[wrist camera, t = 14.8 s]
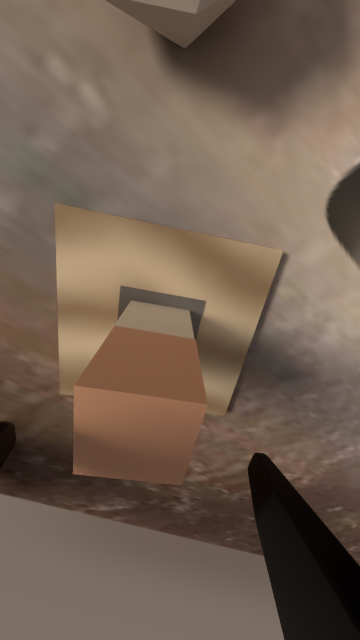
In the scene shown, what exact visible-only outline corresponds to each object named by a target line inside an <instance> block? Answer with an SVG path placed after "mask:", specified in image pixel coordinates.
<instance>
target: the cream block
mask: <svg viewBox="0 0 360 640" xmlns="http://www.w3.org/2000/svg"><path fill="white" fill-rule="evenodd" d="M114 326H120V327H126V328H132V329H138V330H144V331H150V332H156V333H161V334H167V335H173V336H179V337H185V338H191V339H194V333H193V328H192V322H191V316H190V311H189V310H185V309H179V308H173V307H167V306H161V305H155V304H149V303H143V302H138V301H132V300H131V302H130V303H129V305H128V306H127V307H126V309H125V310H124V312H123V313H122V315H121V316H120V318H119V319H118V321H117V322H116V323H115V325H114ZM114 326H113V327H114Z"/></svg>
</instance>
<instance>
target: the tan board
mask: <svg viewBox="0 0 360 640" xmlns="http://www.w3.org/2000/svg"><path fill="white" fill-rule="evenodd" d="M55 227H56V264H57V301H58V338H59V375H60V394H66V395H73V396H74V385H75V383H76V382H77V380H78V379H79V377H80V376H81V374H82V373H83V371H84V370H85V369H86V367H87V366H88V364H89V363H90V361H91V360H92V358H93V357H94V355H95V354H96V352H97V351H98V349H99V348H100V346H101V345H102V343H103V342H104V341H105V339H106V338H107V336H108V335H109V333H110V332H111V330H112V329H113V326H114V325H115V323H116V322H117V321H118V319H119V318H120V316H121V315H122V313H123V312H124V310H125V309H126V307H127V306H128V305H129V303H130V302H131V300H132V301H138V302H143V303H149V304H155V305H161V306H167V307H173V308H179V309H185V310H189V311H190V316H191V322H192V328H193V333H194V339H196V344H197V350H198V355H199V360H200V366H201V371H202V377H203V382H204V387H205V393H206V398H207V403H208V405H207V408H206V411H205V413H208V414H216V415H223V416H225V414H226V411H227V408H228V405H229V403H230V400H231V397H232V394H233V391H234V388H235V386H236V383H237V380H238V377H239V374H240V372H241V369H242V366H243V363H244V360H245V358H246V355H247V352H248V349H249V346H250V343H251V341H252V338H253V335H254V332H255V329H256V327H257V324H258V321H259V318H260V315H261V313H262V310H263V307H264V304H265V301H266V298H267V296H268V293H269V290H270V287H271V284H272V282H273V279H274V276H275V273H276V270H277V268H278V265H279V262H280V259H281V256H282V253H283V251H282V250H278V249H273V248H268V247H263V246H258V245H254V244H249V243H244V242H239V241H234V240H230V239H225V238H220V237H215V236H210V235H205V234H201V233H196V232H191V231H186V230H181V229H177V228H172V227H167V226H162V225H157V224H153V223H148V222H143V221H138V220H133V219H129V218H124V217H119V216H114V215H109V214H105V213H100V212H95V211H90V210H85V209H80V208H76V207H71V206H66V205H61V204H56V203H55Z"/></svg>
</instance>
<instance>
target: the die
mask: <svg viewBox="0 0 360 640" xmlns="http://www.w3.org/2000/svg"><path fill="white" fill-rule="evenodd" d="M106 1H107V2H109V3H111V4H112V5H114V6H116V7H117V8H119V9H120V10H122V11H124V12H125V13H127V14H129V15H130V16H132V17H134V18H135V19H137V20H138V21H140V22H142V23H143V24H145V25H147V26H148V27H150V28H152V29H153V30H155V31H156V32H158V33H160V34H161V35H163V36H165V37H166V38H168V39H170V40H171V41H173V42H174V43H176V44H178V45H179V46H181V47H183V48H184V49H186V48H187V47H188V46H189V45H190V44H191V43H192V42H193V41H194V40H195V39H196V38H197V37H198V36H199V35H200V34H201V33H202V32H203V31H205V30H206V29H207V28H208V27H209V26H210V25H211V24H212V23H213V22H214V21H215V20H216V19H217V18H218V17H219V16H220V15H221V14H222V13H223V12H225V11H226V10H227V9H228V8H229V7H230V6H231V5H232V4H233V3H234V2H235V1H236V0H106Z"/></svg>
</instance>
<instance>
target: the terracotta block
mask: <svg viewBox="0 0 360 640" xmlns="http://www.w3.org/2000/svg"><path fill="white" fill-rule="evenodd" d="M207 405H208V403H207V398H206V393H205V387H204V382H203V377H202V371H201V366H200V360H199V355H198V350H197V344H196V339H191V338H185V337H179V336H173V335H167V334H161V333H156V332H150V331H144V330H138V329H132V328H126V327H120V326H114V327H113V329H112V330H111V332H110V333H109V335H108V336H107V338H106V339H105V341H104V342H103V343H102V345H101V346H100V348H99V349H98V351H97V352H96V354H95V355H94V357H93V358H92V360H91V361H90V363H89V364H88V366H87V367H86V369H85V370H84V371H83V373H82V374H81V376H80V377H79V379H78V380H77V382H76V383H75V385H74V427H73V474H76V475H86V476H95V477H105V478H114V479H124V480H133V481H142V482H152V483H161V484H171V485H180V486H182V484H183V481H184V478H185V475H186V471H187V468H188V465H189V462H190V459H191V456H192V452H193V449H194V446H195V443H196V440H197V437H198V433H199V430H200V427H201V424H202V421H203V418H204V415H205V411H206V408H207Z"/></svg>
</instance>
